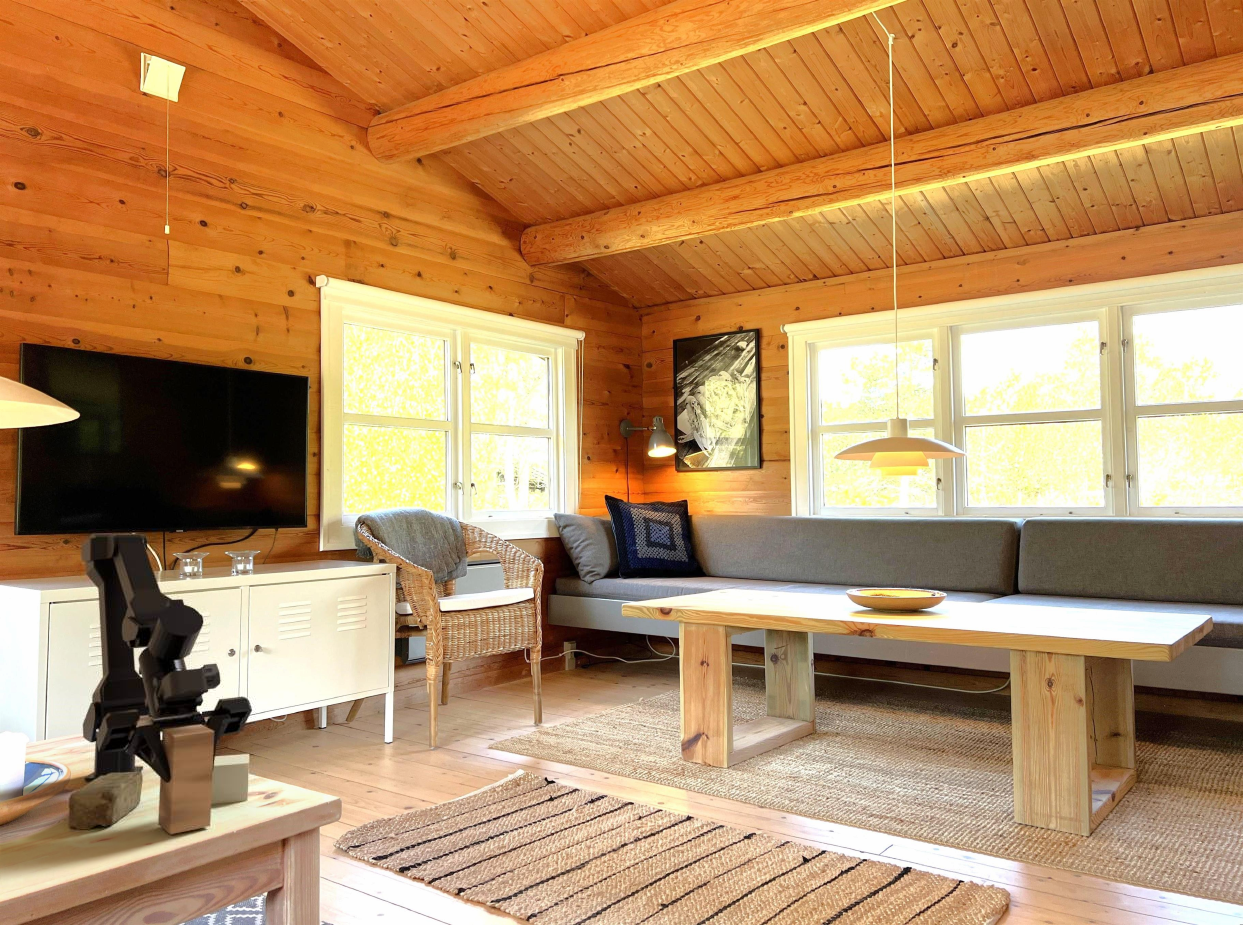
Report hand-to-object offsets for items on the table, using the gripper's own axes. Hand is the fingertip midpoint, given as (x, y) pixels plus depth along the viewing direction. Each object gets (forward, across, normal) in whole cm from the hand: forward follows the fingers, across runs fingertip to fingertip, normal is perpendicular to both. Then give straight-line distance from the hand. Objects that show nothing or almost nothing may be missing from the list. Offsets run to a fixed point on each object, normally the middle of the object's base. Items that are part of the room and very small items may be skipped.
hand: (189, 777), depth 124 cm
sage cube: (-3, +9, +13) cm, 16 cm away
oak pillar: (+4, 0, +6) cm, 7 cm away
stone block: (-4, -6, +15) cm, 17 cm away
